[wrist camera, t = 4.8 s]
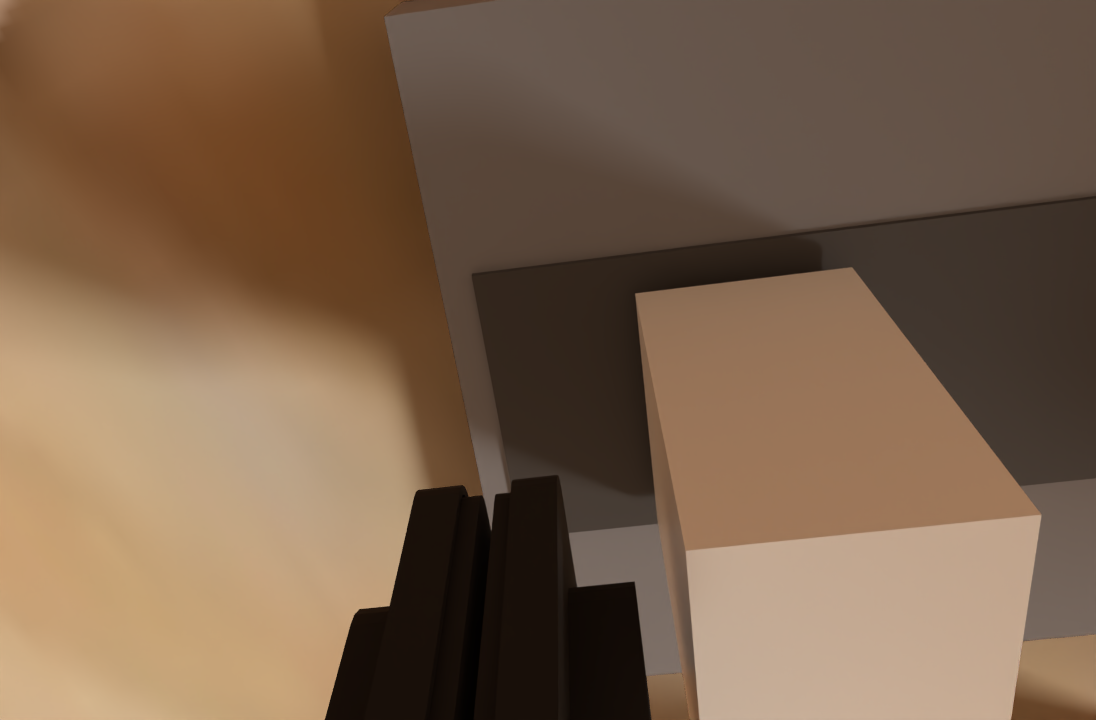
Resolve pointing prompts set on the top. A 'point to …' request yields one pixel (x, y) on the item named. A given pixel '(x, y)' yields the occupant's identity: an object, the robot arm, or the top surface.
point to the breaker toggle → (827, 511)
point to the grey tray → (759, 228)
